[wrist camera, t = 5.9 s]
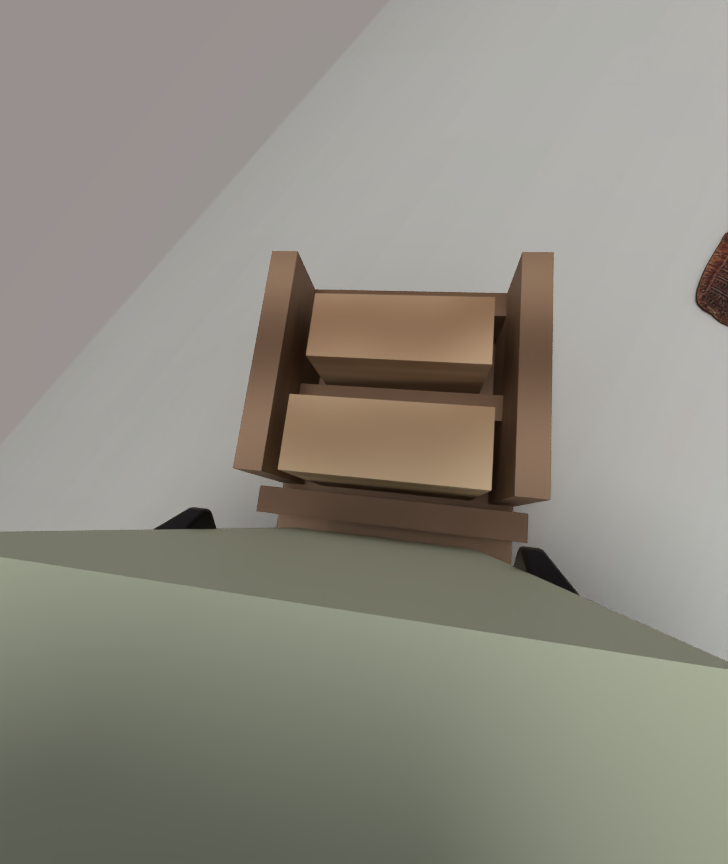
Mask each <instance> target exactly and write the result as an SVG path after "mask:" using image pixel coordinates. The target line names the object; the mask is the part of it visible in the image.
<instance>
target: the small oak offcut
mask: <svg viewBox="0 0 728 864" xmlns="http://www.w3.org/2000/svg"><path fill="white" fill-rule="evenodd" d="M494 312H495V297H466V296H420V295H374V294H328V293H315V298H314V305H313V311H312V318H311V325H310V331H309V338H308V344H307V351H306V356H307V358H308V359H309V361H310V362H311V364H312V365H313V366H314V368H315V369H316V371H317V372H318V374H319V375H320V377H321V378H322V379H323V381H324V382H325V384H326V385H337V386H353V387H370V388H386V389H403V390H419V391H436V392H453V393H469V394H479V393H480V391H481V388H482V386H483V384H484V382H485V379H486V377H487V375H488V372H489V370H490V368H491V366H492V355H493V333H494Z"/></svg>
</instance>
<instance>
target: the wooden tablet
mask: <svg viewBox="0 0 728 864" xmlns="http://www.w3.org/2000/svg"><path fill="white" fill-rule="evenodd" d="M697 301H698V304H699V305H700V306H701V307H702V308H703V309H704V310H706V311H708V312H709V313H711V314H712V315H713V316H714V317H715V318H716V319H718V320H719V321H720V322H722V323H723V324H725V325H727V326H728V232H727V233H726V234H725V235H724V237H723V239H722V241H721V243H720V244H719V246H718V248H717V249H716V251H715V252H714V254H713V256H712V257H711V259H710V261H709V263H708V265H707V266H706V268H705V271H704V273H703V276H702V278H701V281H700V284H699V287H698V290H697Z"/></svg>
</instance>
